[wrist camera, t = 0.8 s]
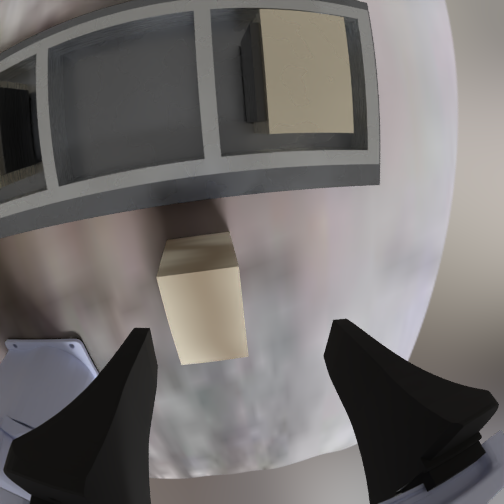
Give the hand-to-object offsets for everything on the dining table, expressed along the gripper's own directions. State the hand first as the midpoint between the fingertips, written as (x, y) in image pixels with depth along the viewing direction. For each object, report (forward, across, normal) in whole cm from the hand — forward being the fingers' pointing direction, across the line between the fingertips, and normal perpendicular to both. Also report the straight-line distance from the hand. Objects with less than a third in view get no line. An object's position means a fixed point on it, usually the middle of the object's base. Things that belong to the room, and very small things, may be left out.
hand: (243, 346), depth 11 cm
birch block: (+9, +2, +2) cm, 9 cm away
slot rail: (+9, +6, -10) cm, 14 cm away
